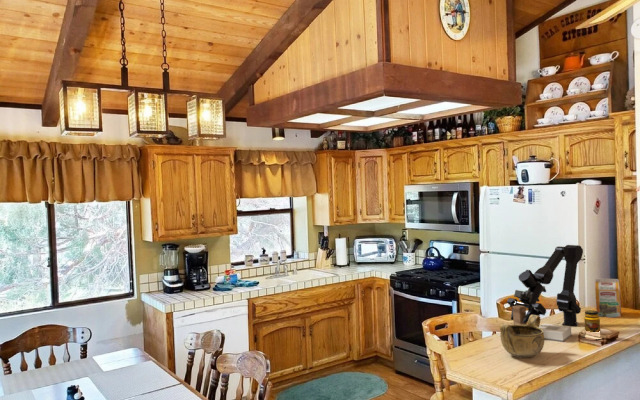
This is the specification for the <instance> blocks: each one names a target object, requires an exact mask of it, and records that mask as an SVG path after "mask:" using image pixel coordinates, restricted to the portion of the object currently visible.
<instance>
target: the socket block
mask: <svg viewBox="0 0 640 400" xmlns="http://www.w3.org/2000/svg"><path fill="white" fill-rule="evenodd" d="M539 328H541V329H542V330H543V333H544V340H545V341H546V340H547V341H554V342H561V343H562V342H563V343H564V342H566V340H568V339H569V338H570V337H572V326H567V325H562V324H561V325H559V324H550V323H542V324H540V325H539Z"/></svg>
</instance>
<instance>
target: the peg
mask: <svg viewBox="0 0 640 400" xmlns="http://www.w3.org/2000/svg"><path fill="white" fill-rule="evenodd" d="M512 307H513V320H512V321H513V322H512V323H513V325H527V323H528V322H526V323H524V322H523V321H524V318H525V316H526V314H527V311H526V310H527V308H526V306H521V305H517V306H512ZM512 307H511V308H512Z"/></svg>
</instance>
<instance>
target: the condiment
mask: <svg viewBox="0 0 640 400" xmlns="http://www.w3.org/2000/svg"><path fill="white" fill-rule="evenodd" d="M583 319H584V331H585V330H586V331H590V332H599V331H600V332H601V321H600V317H598V312H597V310H592V309H591V310H590V309H588V310H585V311H584V317H583Z"/></svg>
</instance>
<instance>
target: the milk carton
mask: <svg viewBox="0 0 640 400" xmlns="http://www.w3.org/2000/svg"><path fill="white" fill-rule="evenodd" d="M594 281H595V286H594V287H595V288H594V289H595V290H594V291H595V306H596V307H595V309H596V310H595V311H597V312H598V317H599V318H605V317H606V318H608V319H622V302H621V289H620V280H619V279H618V278H595V280H594Z"/></svg>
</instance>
